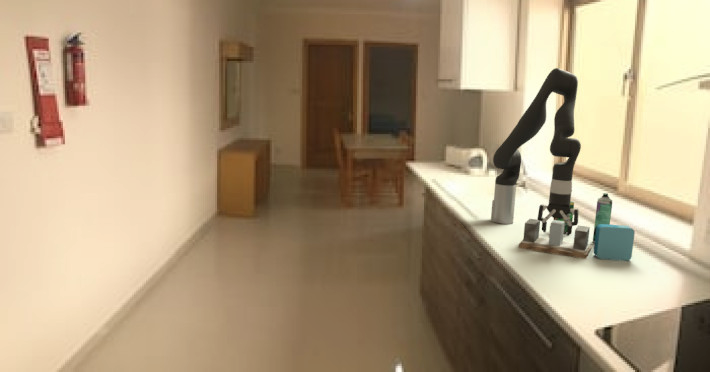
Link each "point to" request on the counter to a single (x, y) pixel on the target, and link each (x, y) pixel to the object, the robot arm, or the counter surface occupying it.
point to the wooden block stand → (566, 248)
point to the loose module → (556, 232)
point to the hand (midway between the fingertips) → (556, 233)
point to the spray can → (602, 212)
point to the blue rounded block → (614, 242)
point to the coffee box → (568, 215)
